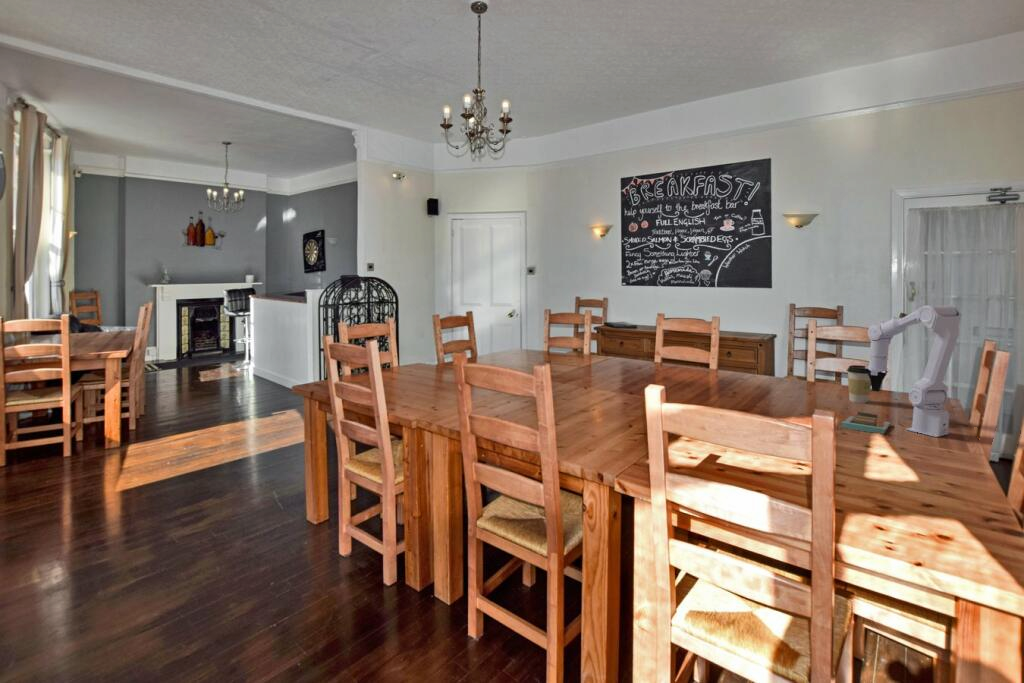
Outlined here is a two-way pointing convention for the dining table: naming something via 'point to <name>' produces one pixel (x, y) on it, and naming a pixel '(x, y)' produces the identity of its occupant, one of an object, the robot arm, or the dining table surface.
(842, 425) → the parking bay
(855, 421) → the brown striped block
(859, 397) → the coffee cup
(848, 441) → the dining table surface
